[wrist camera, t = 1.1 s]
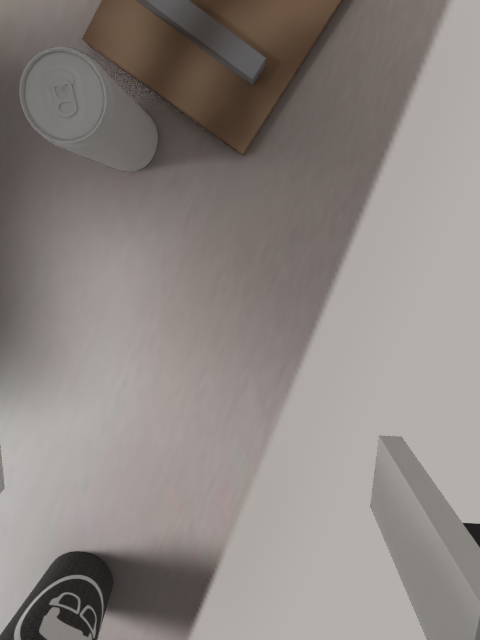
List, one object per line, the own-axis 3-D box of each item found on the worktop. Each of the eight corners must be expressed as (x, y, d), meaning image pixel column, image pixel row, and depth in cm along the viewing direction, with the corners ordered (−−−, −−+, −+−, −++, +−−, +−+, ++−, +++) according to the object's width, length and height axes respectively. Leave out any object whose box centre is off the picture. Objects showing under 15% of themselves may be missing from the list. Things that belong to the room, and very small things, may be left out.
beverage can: (153, 101, 33) (97, 34, 21) (166, 166, 34) (119, 137, 22) (92, 113, 33) (4, 53, 21) (107, 177, 34) (30, 154, 22)
